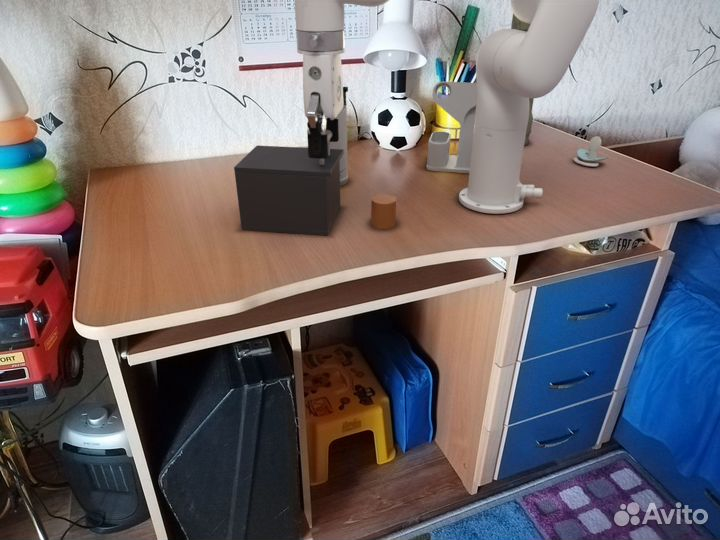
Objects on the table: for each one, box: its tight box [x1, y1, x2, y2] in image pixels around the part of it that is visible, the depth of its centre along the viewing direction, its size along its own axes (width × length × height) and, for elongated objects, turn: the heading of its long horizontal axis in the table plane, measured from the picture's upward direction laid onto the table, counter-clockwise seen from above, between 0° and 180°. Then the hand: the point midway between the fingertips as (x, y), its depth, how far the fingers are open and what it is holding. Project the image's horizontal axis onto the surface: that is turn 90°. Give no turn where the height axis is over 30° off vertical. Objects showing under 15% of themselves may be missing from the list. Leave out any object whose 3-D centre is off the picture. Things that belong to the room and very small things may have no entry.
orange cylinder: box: [370, 193, 397, 230], centre depth 98 cm, size 4×4×5 cm
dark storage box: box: [234, 161, 341, 237], centre depth 99 cm, size 16×12×11 cm
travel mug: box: [317, 86, 349, 187], centre depth 112 cm, size 6×7×20 cm
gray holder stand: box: [425, 81, 477, 174], centre depth 122 cm, size 17×10×18 cm, turn 76°
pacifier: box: [573, 135, 609, 168], centre depth 126 cm, size 7×6×6 cm
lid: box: [233, 130, 344, 177], centre depth 94 cm, size 17×12×5 cm
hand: (324, 149), depth 94 cm, fingers open, 9 cm apart
